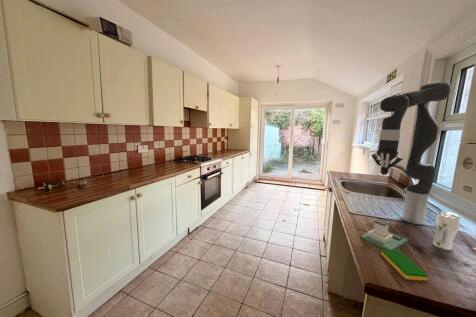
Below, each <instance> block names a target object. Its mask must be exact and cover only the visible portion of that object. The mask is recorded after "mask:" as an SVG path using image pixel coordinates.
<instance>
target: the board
mask: <svg viewBox="0 0 476 317" xmlns="http://www.w3.org/2000/svg"><path fill="white" fill-rule="evenodd" d="M373 231H374V228H373V229H371V230H368V231H367V232H366V233H363V234H362V235H361V236H360V238H361V239H362V240H364V241H366V242H368V243H371V244H372V245H375V246H377V247H379V248H381V249H383V250H394V251H396V250H398V249H399V248H400V247H401V246H403V245H405V244H406V243H408V239H407V238H405V237H403V236H401V235H399V234H396V233H393V232H391V231H388V233H387V237H385V238H383V237H380V236H378V235H376V234H374V233H373Z"/></svg>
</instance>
